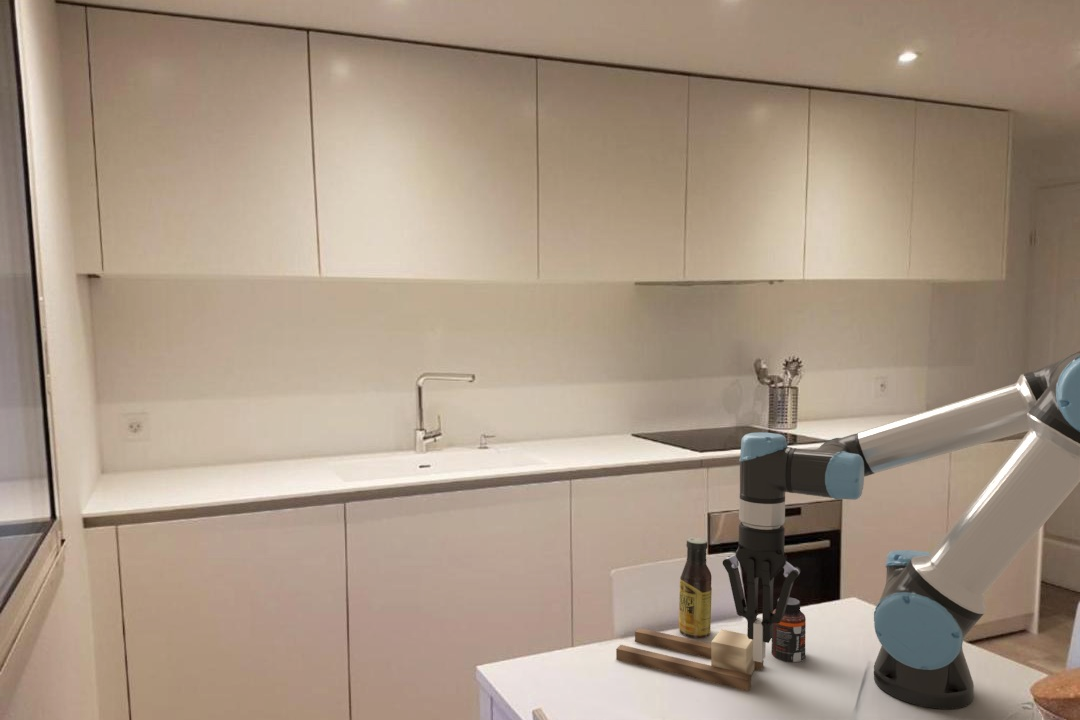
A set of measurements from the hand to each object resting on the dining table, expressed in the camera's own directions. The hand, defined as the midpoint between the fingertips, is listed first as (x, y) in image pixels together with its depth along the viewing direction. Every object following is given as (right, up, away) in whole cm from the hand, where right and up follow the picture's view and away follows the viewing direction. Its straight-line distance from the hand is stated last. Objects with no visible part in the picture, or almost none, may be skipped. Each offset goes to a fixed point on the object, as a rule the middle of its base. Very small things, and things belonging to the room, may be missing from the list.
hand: (759, 658), depth 125 cm
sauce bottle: (-7, -4, +20) cm, 21 cm away
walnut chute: (-11, -4, +6) cm, 13 cm away
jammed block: (-4, -3, +2) cm, 6 cm away
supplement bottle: (+8, -5, +9) cm, 13 cm away
